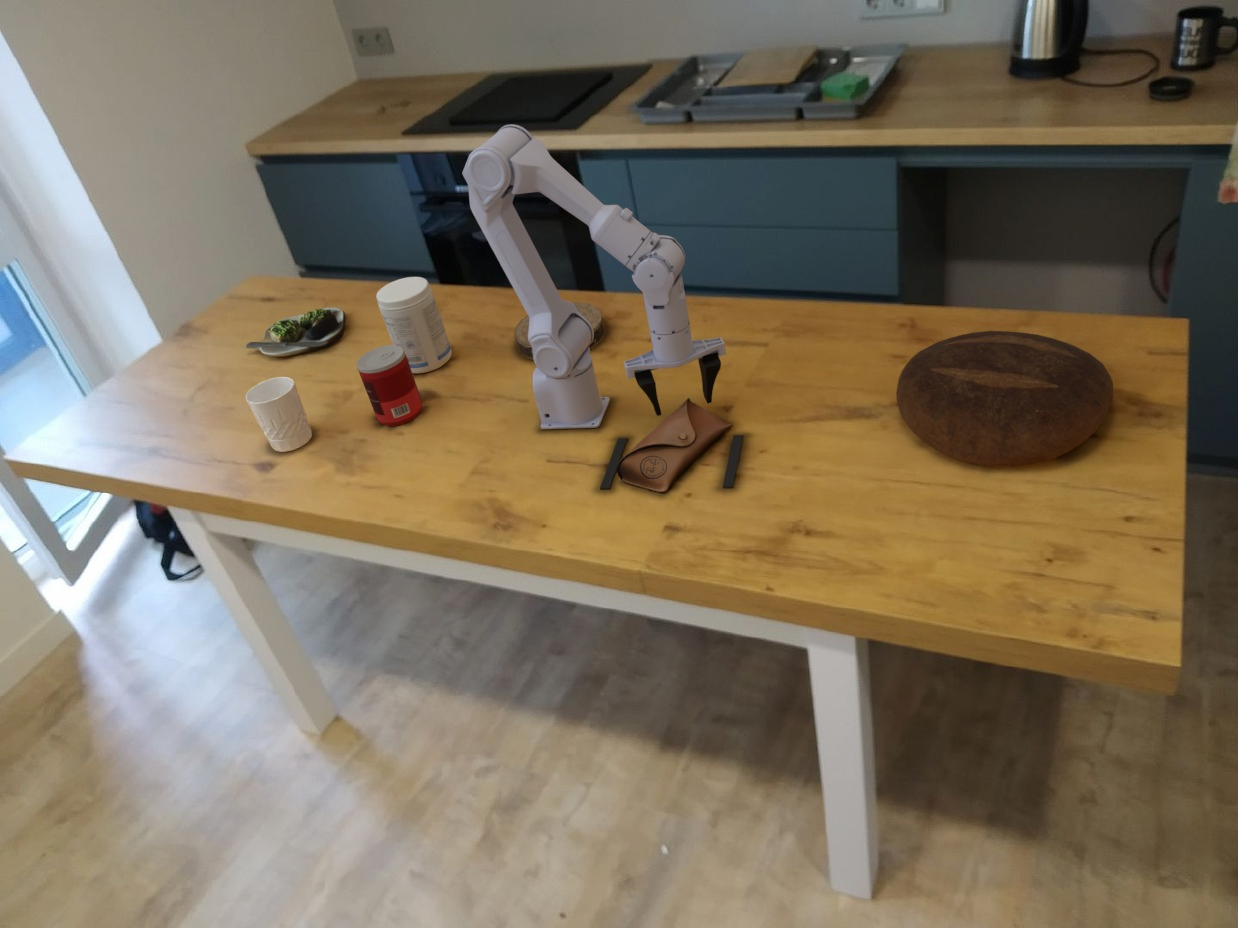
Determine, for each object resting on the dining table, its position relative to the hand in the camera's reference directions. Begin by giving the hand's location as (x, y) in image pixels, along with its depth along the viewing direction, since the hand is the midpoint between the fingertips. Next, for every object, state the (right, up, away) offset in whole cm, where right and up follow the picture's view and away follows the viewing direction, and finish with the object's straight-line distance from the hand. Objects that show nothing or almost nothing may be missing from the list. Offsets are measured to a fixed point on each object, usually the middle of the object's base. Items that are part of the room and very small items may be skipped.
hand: (682, 406), depth 146 cm
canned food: (-46, 0, +18) cm, 49 cm away
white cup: (-64, -5, +18) cm, 66 cm away
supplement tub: (-44, +10, +32) cm, 55 cm away
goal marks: (-2, -8, -7) cm, 11 cm away
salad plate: (-71, +16, +50) cm, 88 cm away
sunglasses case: (-1, -7, -5) cm, 9 cm away
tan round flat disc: (-20, +14, +30) cm, 38 cm away
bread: (+43, -1, -11) cm, 44 cm away
